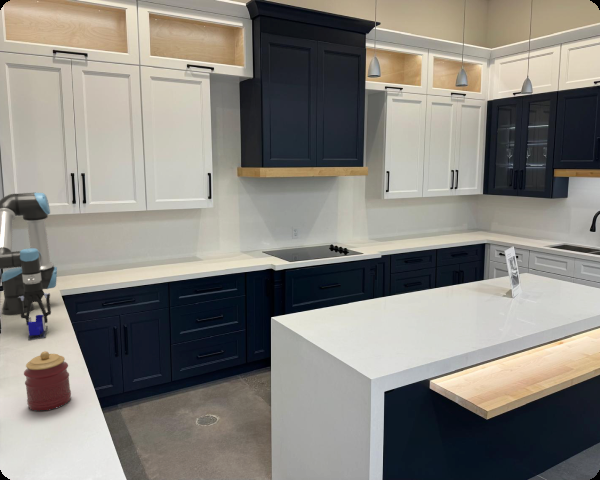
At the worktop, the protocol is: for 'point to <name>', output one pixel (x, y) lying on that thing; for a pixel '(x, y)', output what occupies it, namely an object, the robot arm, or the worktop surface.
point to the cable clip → (36, 326)
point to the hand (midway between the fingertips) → (38, 330)
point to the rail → (41, 336)
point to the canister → (47, 382)
